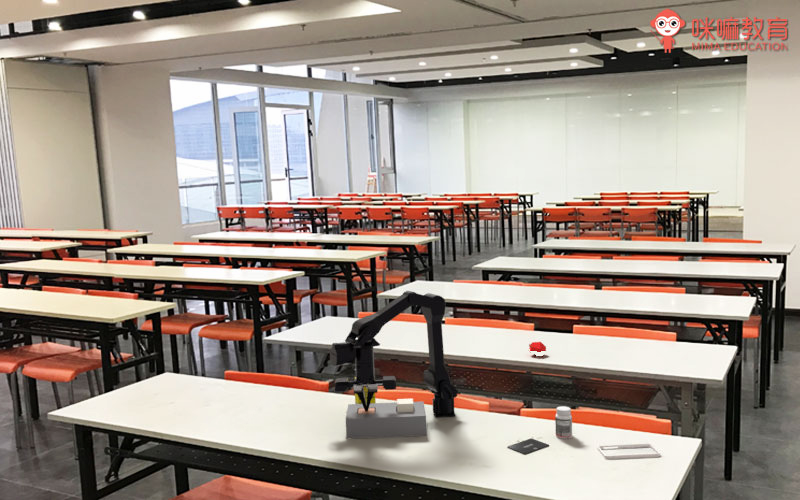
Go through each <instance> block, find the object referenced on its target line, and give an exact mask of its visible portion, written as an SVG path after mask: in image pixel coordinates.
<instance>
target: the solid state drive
mask: <svg viewBox="0 0 800 500" xmlns="http://www.w3.org/2000/svg"><path fill="white" fill-rule="evenodd" d="M548 447H550V445H549V444H548V443H546V442H543V441H540V440H538V439H534V438H528V439H525V440H522V441H518V442H517V443H514V444H511V445H508V446H507V449H509V450H512V451H515V452H517V453H518V454H522V455H528V454H531V453H533V452H537V451H539V450H543V449H545V448H548Z"/></svg>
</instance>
